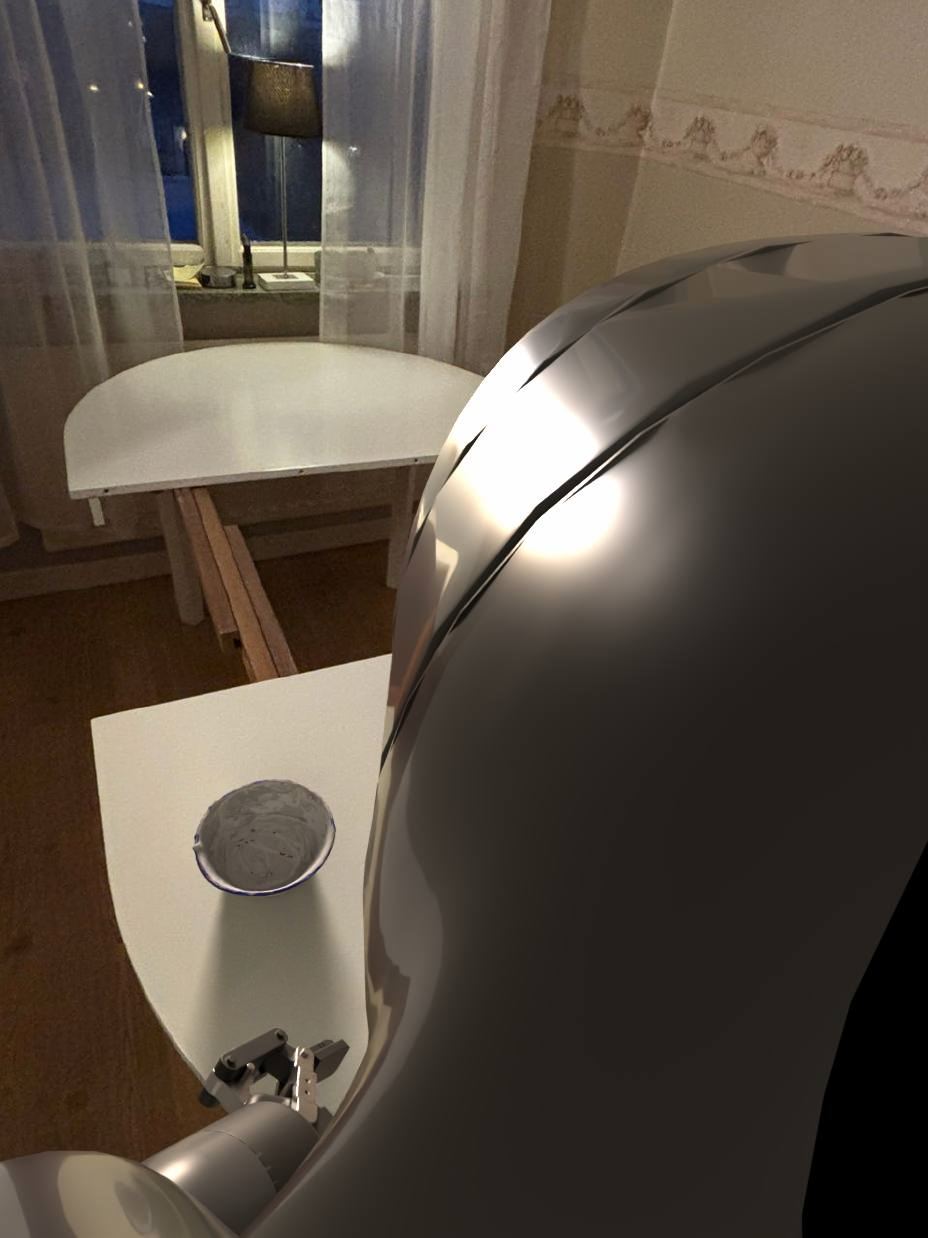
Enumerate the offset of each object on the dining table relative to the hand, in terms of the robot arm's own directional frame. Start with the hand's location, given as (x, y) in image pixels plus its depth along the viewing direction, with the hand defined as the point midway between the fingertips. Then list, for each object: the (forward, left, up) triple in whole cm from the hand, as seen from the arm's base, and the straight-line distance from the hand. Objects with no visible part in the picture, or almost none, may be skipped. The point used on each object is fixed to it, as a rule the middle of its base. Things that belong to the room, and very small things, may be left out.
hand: (386, 1104), depth 46 cm
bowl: (+21, -19, -13) cm, 31 cm away
